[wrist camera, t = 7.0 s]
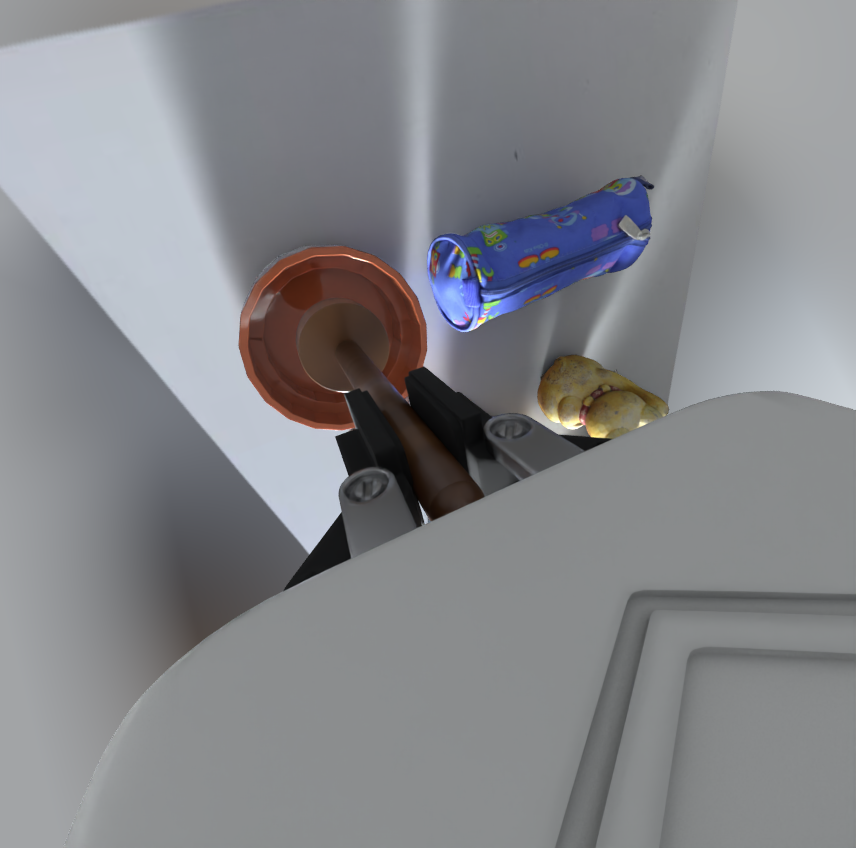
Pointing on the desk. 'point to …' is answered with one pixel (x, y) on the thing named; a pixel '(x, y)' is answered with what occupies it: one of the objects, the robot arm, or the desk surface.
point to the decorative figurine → (595, 398)
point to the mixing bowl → (286, 304)
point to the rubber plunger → (380, 396)
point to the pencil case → (538, 253)
